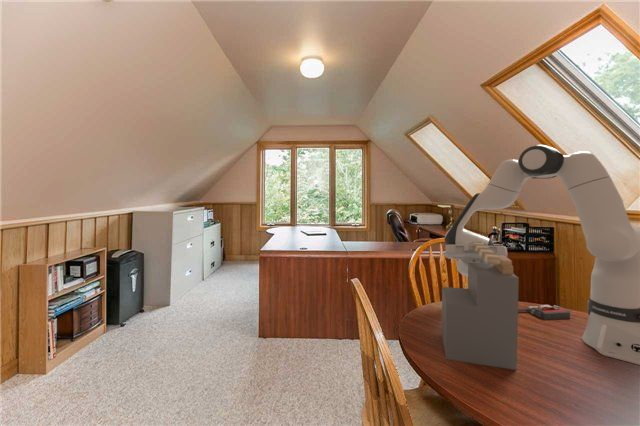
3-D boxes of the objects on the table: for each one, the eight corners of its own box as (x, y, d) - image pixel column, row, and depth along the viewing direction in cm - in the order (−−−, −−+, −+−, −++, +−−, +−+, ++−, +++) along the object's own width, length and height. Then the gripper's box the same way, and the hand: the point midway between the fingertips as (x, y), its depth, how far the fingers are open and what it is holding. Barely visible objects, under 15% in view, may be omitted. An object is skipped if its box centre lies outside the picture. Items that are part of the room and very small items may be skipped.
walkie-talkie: (554, 310, 121) (509, 312, 119) (554, 300, 120) (509, 302, 119) (574, 319, 112) (526, 321, 110) (575, 308, 112) (526, 310, 110)
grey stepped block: (441, 334, 101) (442, 250, 99) (500, 342, 95) (502, 253, 93) (446, 359, 86) (446, 260, 84) (516, 370, 80) (519, 264, 78)
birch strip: (471, 247, 105) (471, 241, 105) (480, 247, 104) (480, 241, 104) (487, 263, 80) (487, 256, 80) (500, 264, 79) (500, 257, 79)
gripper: (442, 248, 117) (445, 235, 106) (500, 250, 111) (510, 237, 99) (443, 263, 115) (446, 252, 103) (502, 266, 108) (512, 254, 96)
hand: (478, 244), depth 101 cm, fingers closed on birch strip, 3 cm apart
